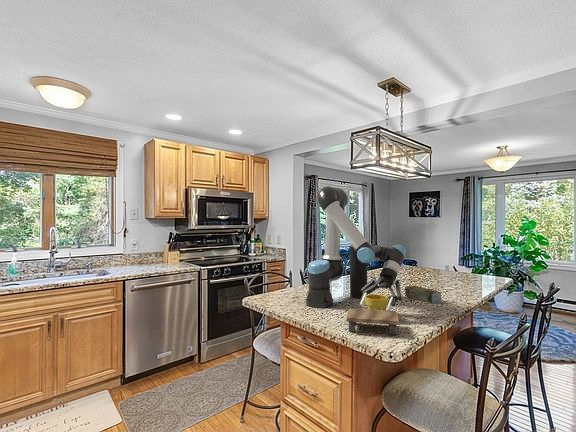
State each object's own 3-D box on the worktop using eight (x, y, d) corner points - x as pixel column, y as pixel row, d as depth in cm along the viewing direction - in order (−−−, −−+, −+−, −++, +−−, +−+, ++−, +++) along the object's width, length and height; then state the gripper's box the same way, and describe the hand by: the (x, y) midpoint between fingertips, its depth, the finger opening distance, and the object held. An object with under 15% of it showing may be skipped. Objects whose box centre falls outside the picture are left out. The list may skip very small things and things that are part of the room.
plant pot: (364, 320, 141) (363, 298, 141) (366, 313, 151) (366, 293, 151) (387, 322, 137) (387, 300, 138) (389, 315, 147) (388, 295, 147)
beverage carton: (432, 304, 166) (431, 292, 166) (404, 297, 184) (404, 286, 184) (442, 302, 170) (441, 290, 170) (414, 295, 187) (413, 284, 187)
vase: (346, 297, 185) (346, 246, 185) (355, 293, 193) (354, 245, 193) (362, 299, 178) (361, 247, 179) (370, 296, 186) (369, 246, 187)
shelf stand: (346, 332, 125) (346, 317, 125) (349, 321, 139) (349, 308, 139) (399, 336, 120) (398, 321, 120) (396, 325, 133) (396, 311, 133)
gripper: (417, 279, 146) (403, 318, 135) (370, 273, 164) (354, 307, 153) (412, 269, 143) (397, 308, 132) (364, 264, 161) (348, 299, 150)
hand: (374, 308), depth 143 cm, fingers open, 13 cm apart
